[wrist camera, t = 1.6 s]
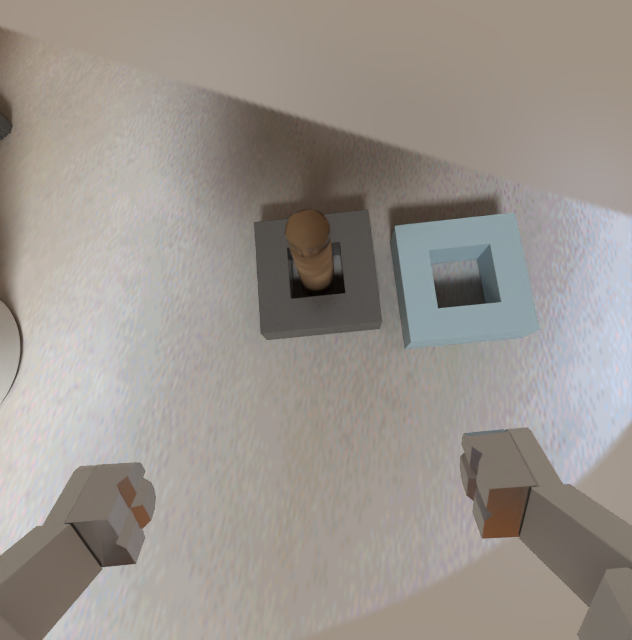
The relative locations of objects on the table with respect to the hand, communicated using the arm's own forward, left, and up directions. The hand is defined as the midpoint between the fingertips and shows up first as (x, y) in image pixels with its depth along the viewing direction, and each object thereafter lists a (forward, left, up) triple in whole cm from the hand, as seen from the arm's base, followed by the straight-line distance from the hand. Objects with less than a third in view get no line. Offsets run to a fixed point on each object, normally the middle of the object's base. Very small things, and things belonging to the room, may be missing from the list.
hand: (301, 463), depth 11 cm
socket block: (0, +13, -26) cm, 29 cm away
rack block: (+12, +11, -26) cm, 31 cm away
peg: (0, +13, -26) cm, 29 cm away
